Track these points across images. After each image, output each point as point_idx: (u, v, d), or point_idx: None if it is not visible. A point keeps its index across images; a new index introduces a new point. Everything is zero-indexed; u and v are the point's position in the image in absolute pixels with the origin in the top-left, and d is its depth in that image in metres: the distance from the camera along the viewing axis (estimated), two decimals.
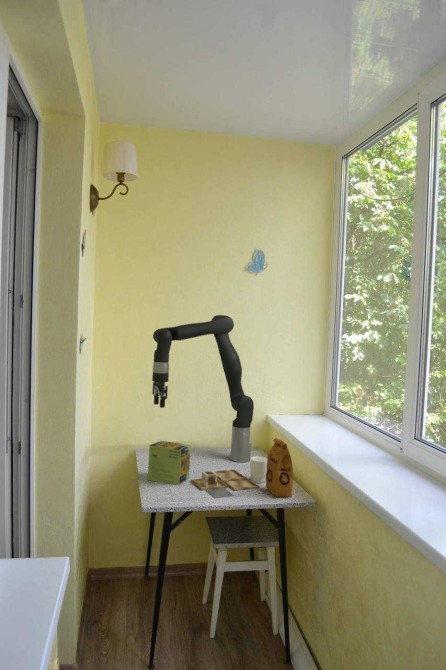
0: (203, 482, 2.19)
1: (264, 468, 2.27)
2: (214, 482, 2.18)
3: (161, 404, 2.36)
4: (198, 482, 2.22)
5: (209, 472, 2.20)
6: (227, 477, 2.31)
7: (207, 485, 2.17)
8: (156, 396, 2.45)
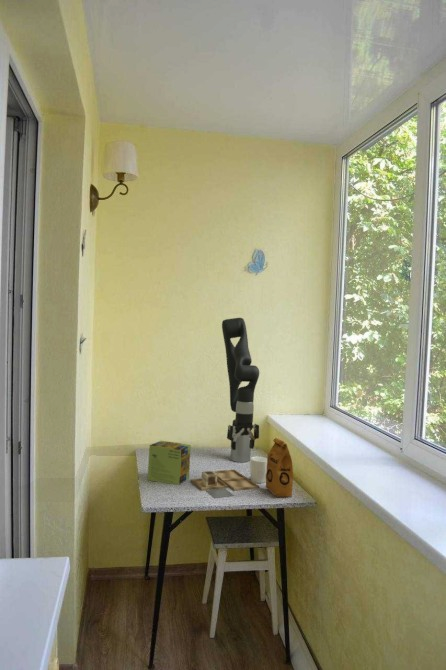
0: (203, 482, 2.19)
1: (264, 468, 2.27)
2: (214, 482, 2.18)
3: (253, 445, 2.23)
4: (198, 482, 2.22)
5: (209, 472, 2.20)
6: (227, 477, 2.31)
7: (207, 485, 2.17)
8: None
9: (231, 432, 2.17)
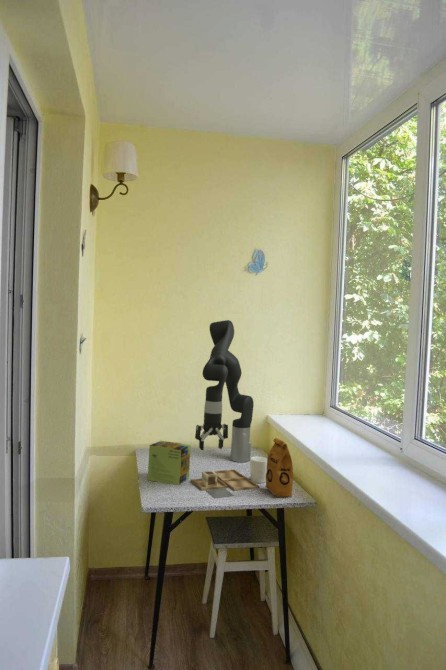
0: (203, 482, 2.19)
1: (264, 468, 2.27)
2: (214, 482, 2.18)
3: (222, 445, 2.21)
4: (198, 482, 2.22)
5: (209, 472, 2.20)
6: (227, 477, 2.31)
7: (207, 485, 2.17)
8: None
9: (199, 432, 2.15)
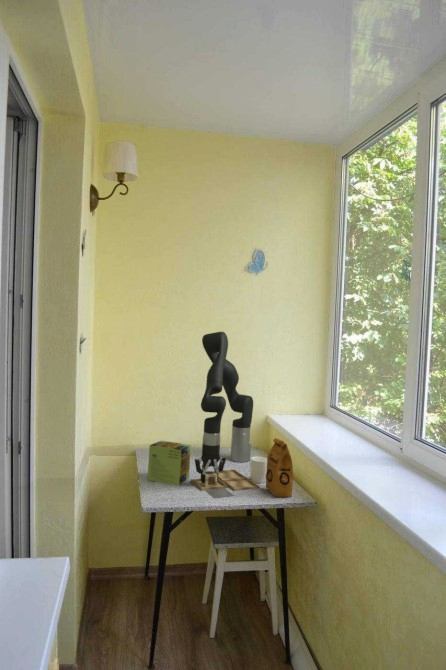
0: None
1: (264, 468, 2.27)
2: (214, 482, 2.18)
3: (217, 478, 2.21)
4: (198, 482, 2.22)
5: (209, 472, 2.20)
6: (227, 477, 2.31)
7: (207, 485, 2.17)
8: None
9: (199, 466, 2.16)
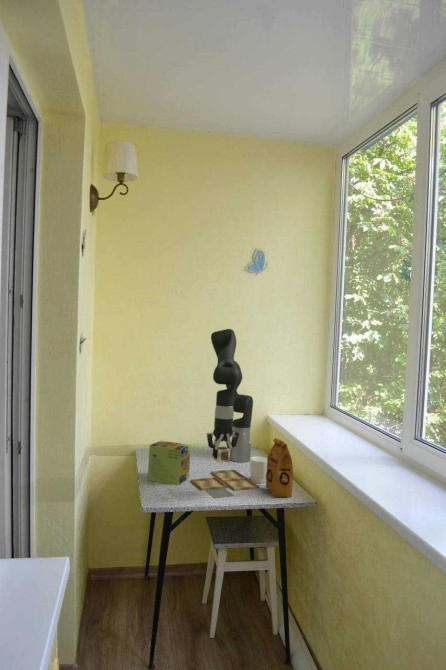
0: None
1: (264, 468, 2.27)
2: (227, 457, 2.08)
3: (230, 453, 2.10)
4: (198, 482, 2.22)
5: (222, 447, 2.10)
6: (227, 477, 2.31)
7: (220, 461, 2.06)
8: None
9: (211, 440, 2.06)
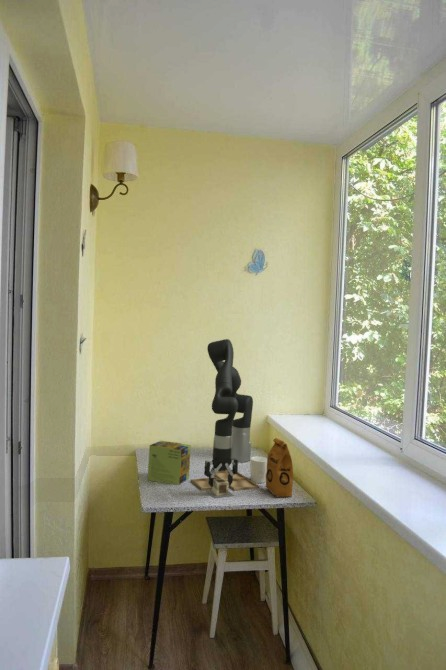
0: (214, 490, 2.09)
1: (264, 468, 2.27)
2: (225, 490, 2.08)
3: (231, 481, 2.11)
4: (198, 482, 2.22)
5: (220, 480, 2.10)
6: (227, 477, 2.31)
7: (218, 494, 2.07)
8: None
9: (208, 468, 2.06)
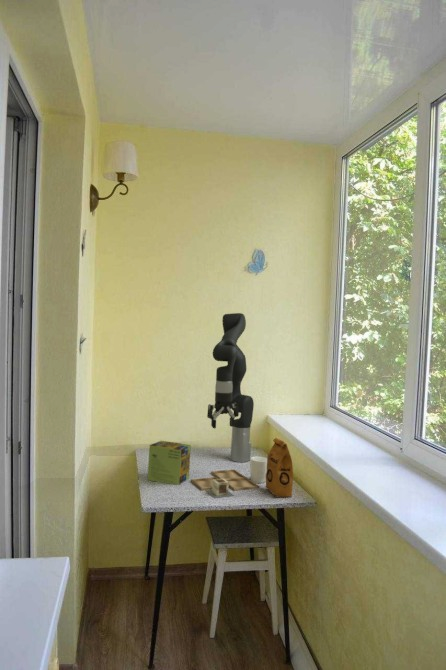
0: (214, 490, 2.09)
1: (264, 468, 2.27)
2: (225, 490, 2.08)
3: (233, 423, 2.28)
4: (198, 482, 2.22)
5: (220, 480, 2.10)
6: (227, 477, 2.31)
7: (218, 494, 2.07)
8: None
9: (211, 411, 2.22)
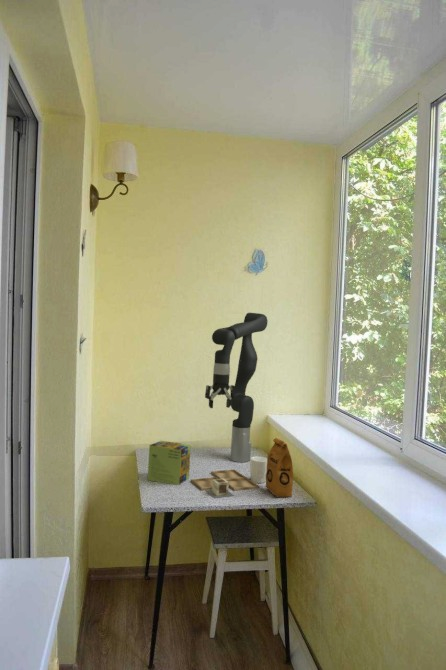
0: (214, 490, 2.09)
1: (264, 468, 2.27)
2: (225, 490, 2.08)
3: (230, 404, 2.40)
4: (198, 482, 2.22)
5: (220, 480, 2.10)
6: (227, 477, 2.31)
7: (218, 494, 2.07)
8: None
9: (209, 391, 2.35)
